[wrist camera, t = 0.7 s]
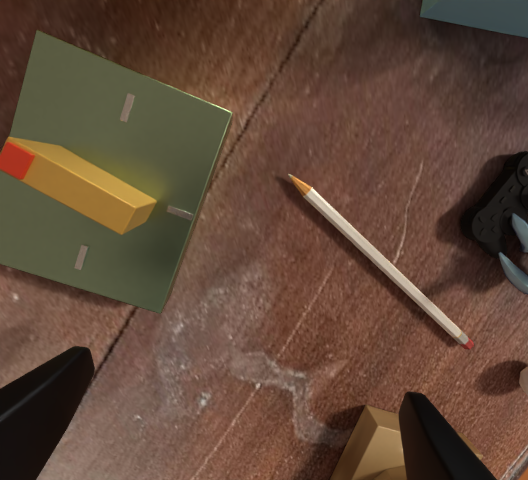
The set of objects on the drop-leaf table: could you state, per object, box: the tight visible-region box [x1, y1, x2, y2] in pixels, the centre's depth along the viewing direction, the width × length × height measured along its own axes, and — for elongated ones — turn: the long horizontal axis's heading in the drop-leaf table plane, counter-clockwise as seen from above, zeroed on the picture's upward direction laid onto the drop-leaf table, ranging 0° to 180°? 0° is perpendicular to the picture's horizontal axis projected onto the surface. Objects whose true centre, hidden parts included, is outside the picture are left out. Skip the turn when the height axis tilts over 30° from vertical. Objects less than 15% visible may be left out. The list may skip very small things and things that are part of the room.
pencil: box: [288, 174, 474, 349], centre depth 22 cm, size 1×19×1 cm, turn 47°
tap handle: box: [0, 137, 157, 235], centre depth 15 cm, size 6×1×4 cm, turn 59°
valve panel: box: [0, 30, 232, 314], centre depth 19 cm, size 12×10×3 cm
